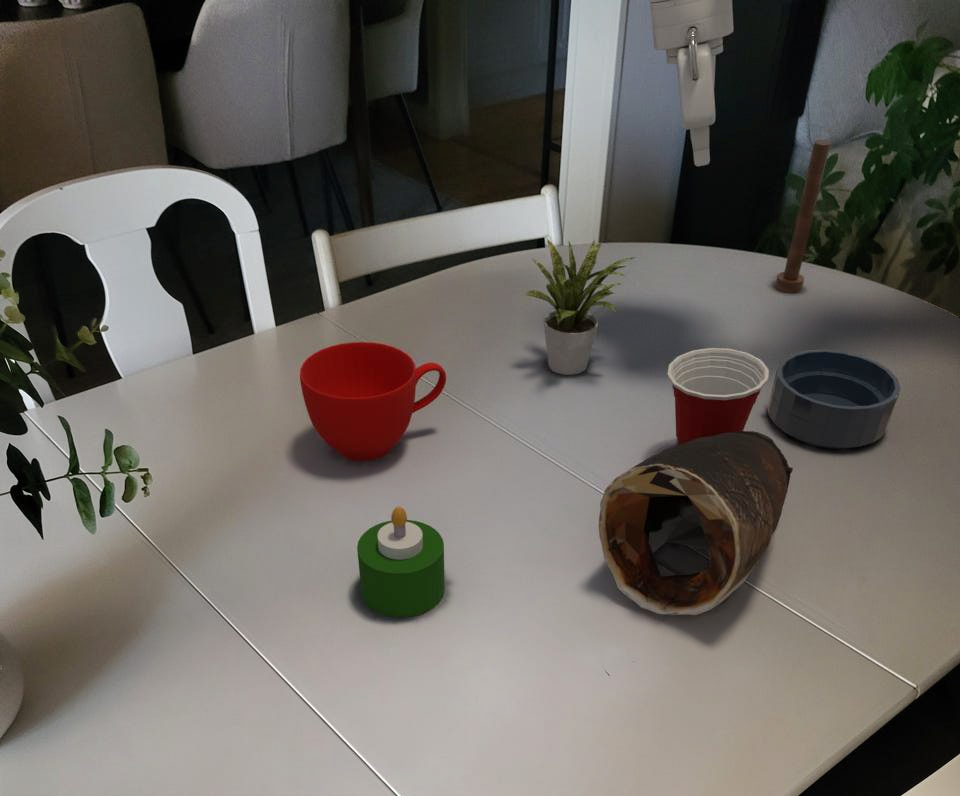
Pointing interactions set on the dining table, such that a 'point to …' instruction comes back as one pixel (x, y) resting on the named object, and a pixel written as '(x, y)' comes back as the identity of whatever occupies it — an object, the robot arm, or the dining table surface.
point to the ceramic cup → (363, 396)
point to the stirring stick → (804, 220)
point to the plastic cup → (714, 391)
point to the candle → (401, 566)
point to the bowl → (832, 398)
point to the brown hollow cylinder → (694, 518)
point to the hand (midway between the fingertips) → (702, 156)
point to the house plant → (573, 309)
